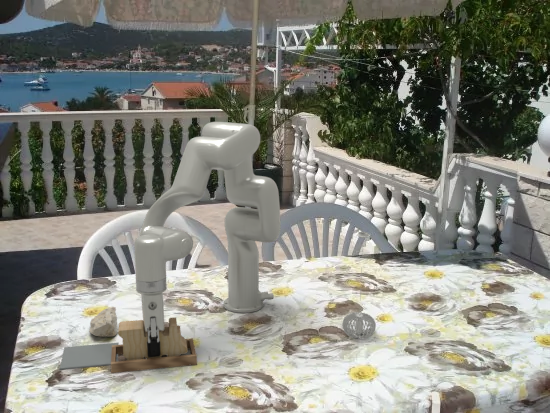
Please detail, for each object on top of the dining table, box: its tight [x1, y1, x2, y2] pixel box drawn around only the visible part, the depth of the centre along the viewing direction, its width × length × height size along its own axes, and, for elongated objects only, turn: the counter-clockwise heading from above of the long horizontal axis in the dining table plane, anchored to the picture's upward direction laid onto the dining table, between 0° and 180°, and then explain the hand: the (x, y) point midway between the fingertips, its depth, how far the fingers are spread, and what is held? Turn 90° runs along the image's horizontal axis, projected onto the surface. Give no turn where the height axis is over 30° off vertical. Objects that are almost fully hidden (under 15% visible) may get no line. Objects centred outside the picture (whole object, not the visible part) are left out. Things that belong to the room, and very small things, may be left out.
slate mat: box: [59, 342, 120, 371], centre depth 161 cm, size 14×12×1 cm
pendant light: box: [342, 231, 377, 340], centre depth 172 cm, size 9×9×30 cm
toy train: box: [117, 317, 189, 361], centre depth 159 cm, size 6×17×10 cm, turn 101°
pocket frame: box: [110, 337, 198, 374], centre depth 160 cm, size 21×10×2 cm, turn 103°
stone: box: [88, 306, 119, 338], centre depth 175 cm, size 8×12×10 cm, turn 12°
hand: (153, 349), depth 160 cm, fingers closed on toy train, 5 cm apart
